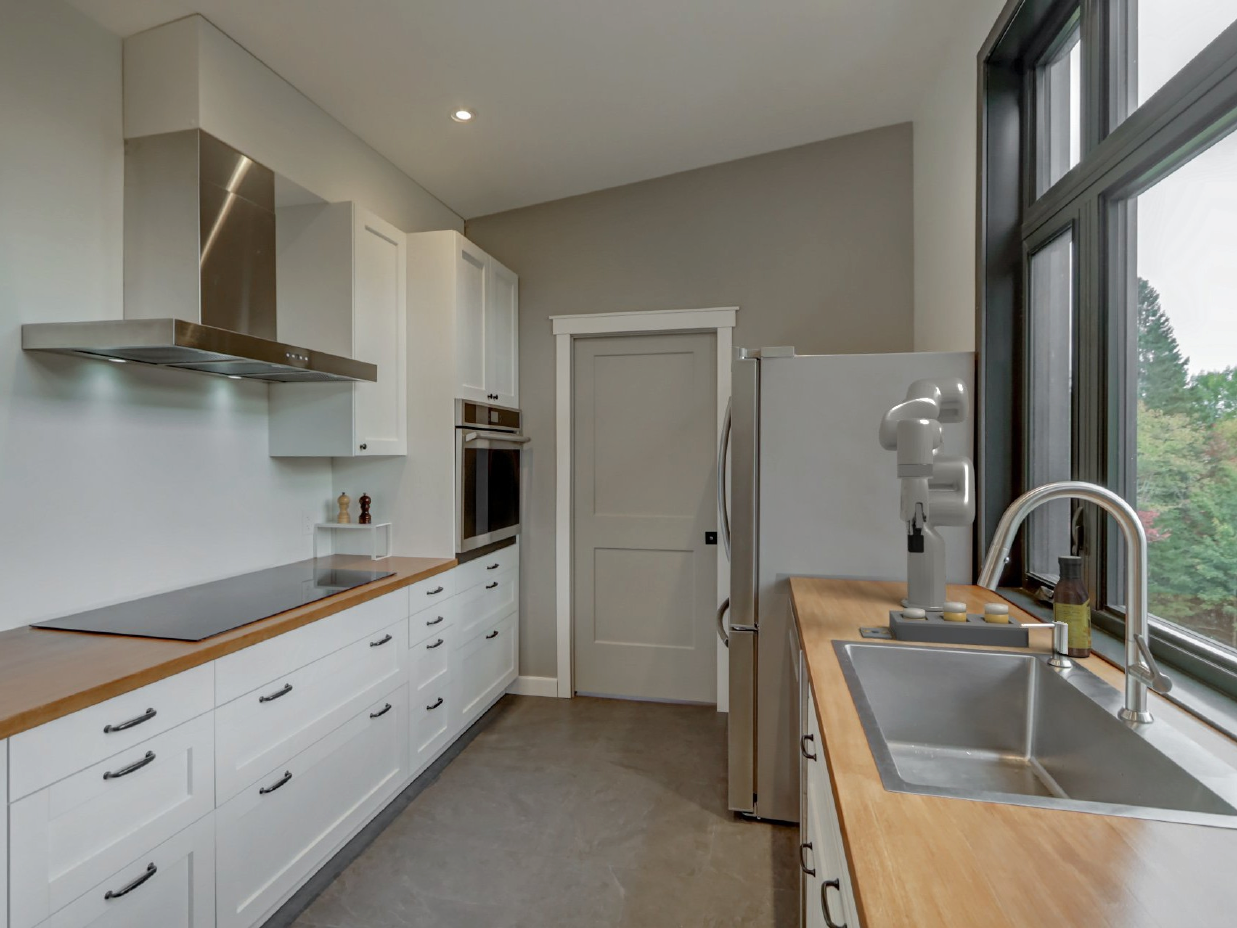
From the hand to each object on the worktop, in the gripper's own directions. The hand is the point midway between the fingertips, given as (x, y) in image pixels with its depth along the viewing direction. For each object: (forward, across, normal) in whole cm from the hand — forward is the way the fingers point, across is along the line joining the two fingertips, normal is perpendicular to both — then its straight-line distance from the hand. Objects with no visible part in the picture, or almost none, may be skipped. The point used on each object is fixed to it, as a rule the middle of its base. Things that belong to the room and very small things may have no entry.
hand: (915, 552), depth 151 cm
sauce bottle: (+19, +9, +28) cm, 35 cm away
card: (+19, +1, -9) cm, 21 cm away
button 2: (+17, 0, +16) cm, 24 cm away
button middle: (+17, 0, +8) cm, 19 cm away
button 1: (+19, 0, 0) cm, 19 cm away
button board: (+19, 0, +8) cm, 21 cm away
